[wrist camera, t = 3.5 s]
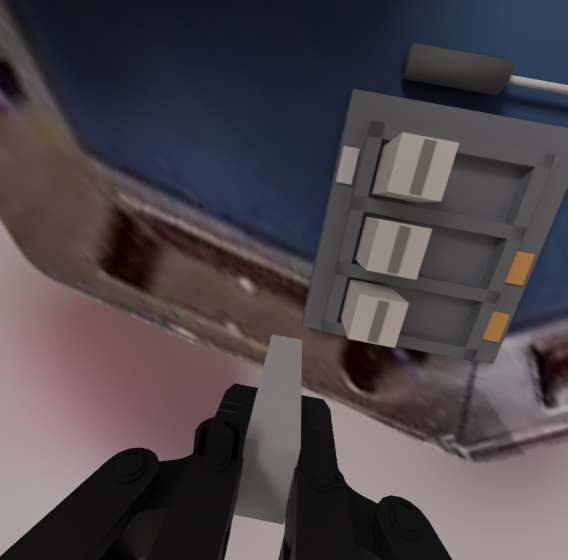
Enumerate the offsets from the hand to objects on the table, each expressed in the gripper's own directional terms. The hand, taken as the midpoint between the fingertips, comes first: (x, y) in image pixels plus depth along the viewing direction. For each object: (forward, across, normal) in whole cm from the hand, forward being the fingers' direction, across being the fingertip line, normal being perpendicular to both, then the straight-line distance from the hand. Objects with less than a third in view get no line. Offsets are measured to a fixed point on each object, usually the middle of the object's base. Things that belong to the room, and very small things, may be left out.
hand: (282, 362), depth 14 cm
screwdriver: (+17, +15, +21) cm, 30 cm away
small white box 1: (+15, +7, 0) cm, 16 cm away
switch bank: (+17, +12, +7) cm, 22 cm away
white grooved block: (+15, +7, +6) cm, 17 cm away
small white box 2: (+15, +8, +12) cm, 20 cm away
